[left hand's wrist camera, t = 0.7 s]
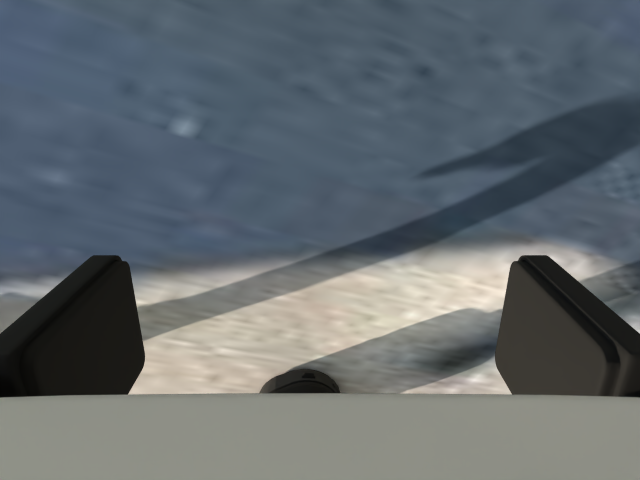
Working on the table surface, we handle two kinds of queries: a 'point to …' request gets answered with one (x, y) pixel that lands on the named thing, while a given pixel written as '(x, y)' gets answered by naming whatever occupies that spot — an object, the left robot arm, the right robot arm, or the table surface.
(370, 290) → the table surface
